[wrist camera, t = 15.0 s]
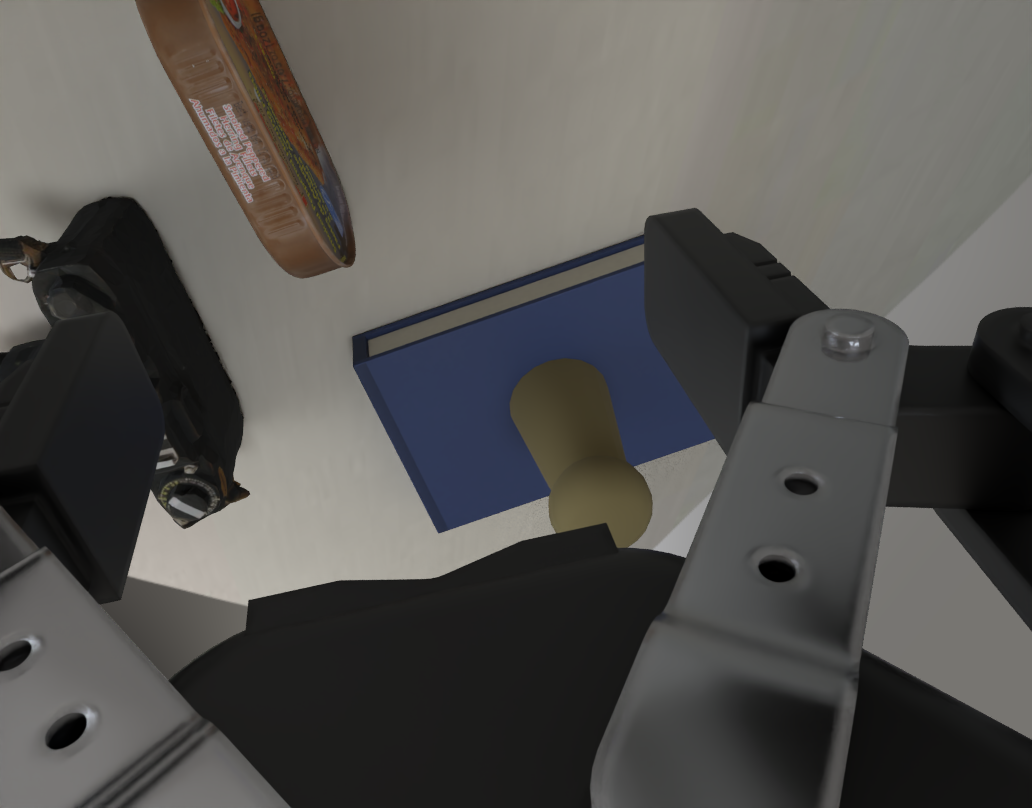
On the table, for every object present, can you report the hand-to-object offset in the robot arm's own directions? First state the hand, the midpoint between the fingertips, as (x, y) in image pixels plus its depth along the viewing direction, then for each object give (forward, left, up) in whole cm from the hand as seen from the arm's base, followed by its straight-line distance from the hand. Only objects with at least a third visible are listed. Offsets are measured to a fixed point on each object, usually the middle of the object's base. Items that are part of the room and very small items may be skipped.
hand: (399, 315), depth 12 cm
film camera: (-16, -15, -30) cm, 37 cm away
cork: (+7, -22, -26) cm, 35 cm away
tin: (-5, -3, -30) cm, 30 cm away
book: (+7, -22, -29) cm, 37 cm away
